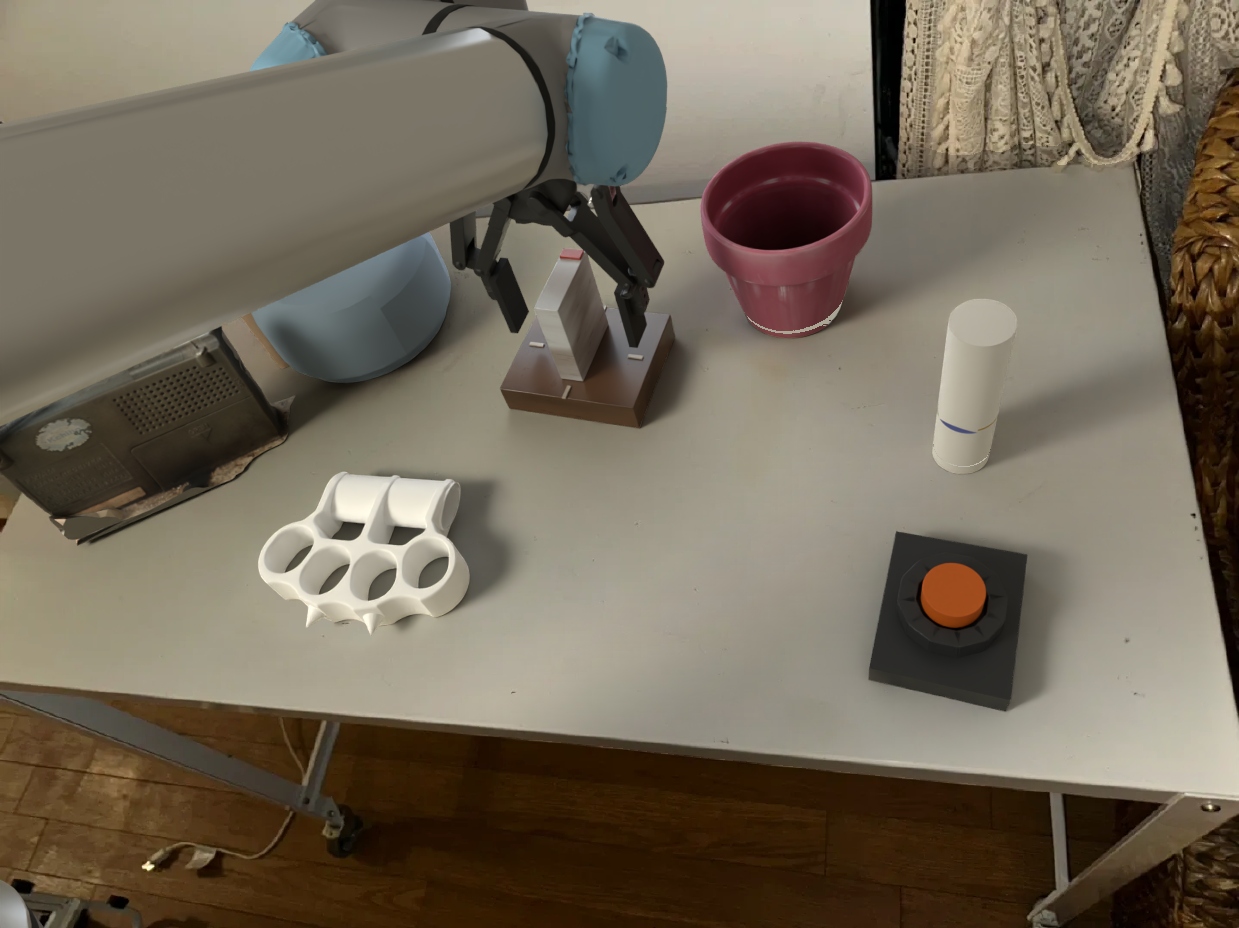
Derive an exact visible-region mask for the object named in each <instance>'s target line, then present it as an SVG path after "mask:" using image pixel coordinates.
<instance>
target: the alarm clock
mask: <svg viewBox="0 0 1239 928" xmlns="http://www.w3.org/2000/svg"><path fill="white" fill-rule="evenodd" d="M447 267H448V266H447V265H446V263H445V261H444V259H443V257H442V254H441V253H440V251H439V249H438V246H437V244H436V242H435V240H434V238H433V236H432V234H431V233H430V232H428V233H426V234H423V235H421V236H419V237H417V238H415V239H412V240H410V241H408V242H406V243H404V244H401V245H399V246H397V247H395V248H393V249H390V250H388V251H386V252H384V253H381V254H379V255H377V256H375V257H373V258H370V259H368V260H366V261H364V262H362V263H359V264H357V265H355V266H353V267H351V268H348V269H346V270H344V271H342V272H340V273H337V274H335V275H333V276H331V277H329V278H326V279H324V280H322V281H320V282H318V283H315V284H313V285H311V286H309V287H306V288H304V289H302V290H300V291H298V292H295V293H293V294H291V295H289V296H287V297H284V298H282V299H280V300H278V301H276V302H273V303H271V304H269V305H267V306H265V307H262V308H260V309H258V310H256V311H254V312H251V313H249V314H247V315H245V316H243V317H241V319H242V321H243V322H244V323H245V324H246V326H247V327H248V329H250V331H251V332H252V333H253V335H254V336H255V337H256V339H257V340H258V341H259V343H260V344H261V345H262V347H263V348H264V349H265V351H266V352H267V353H268V354H269V355H270V357H271V358H272V360H273V361H274V362H275V364H276V365H277V366H278V368H279V369H285V368H289V367H290V368H291V369H293V370H294V371H296V372H297V373H300V374H302V375H305V376H307V377H311V378H314V379H318V380H319V379H320V380H322V381H325V382H328V383H339V384H350V383H357V382H363V381H369V380H372V379H374V378H378V377H381V376H383V375H384V376H385V375H387V374H389V373H391V372H393V371H395V370H397V369H398V368H400V367H402V366H403V365H406V364H407V363H409V362H410V361H412V360H413V359H414V358H415V357H416V356H417V355H419V354H420V353H421V352H423V350H425V349H426V348H428V347H427V346H428V345H429V344H430V343H431V342H432V341H433V339H434V338H435V337H436V335H437V334H438V333H439V331H440V329H441V327H442V324H443V323H444V320H445V317H446V316H447V309H448V306H449V305H450V299H451V298H450V297H451V293H452V292H451V290H452V282H451V278H450V273H449V270H448V268H447Z"/></svg>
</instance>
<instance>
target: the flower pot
mask: <svg viewBox="0 0 1239 928" xmlns="http://www.w3.org/2000/svg"><path fill="white" fill-rule="evenodd" d="M699 207H700V220H701V228H702V235H703V241H704V244H705V248H706V251H707V253H708V255H709V257H710V258H711V260H712V261H713V263H714V264H715V265H716V266H717V267H718V268H719V269H720V270H722V272H724V273H725V275H726V278H727V280H728V282H729V284H730V286H731V289H732V291H733V293H734V295H735V297H736V299H737V301H738V303H739V305H740V307H741V309H742V311H743V313H744V312H745V313H744V315H745V314H746V315H747V316H748V317H749V318H750V319H751V320H752V321H754V322H755V323H757V324H759V325H760V326H763V327H765V328H768V329H772V330H776V331H793V330H794V331H795V330H800V329H804V328H806V327H810V326H813V325H815V324H817V323H819V322H821V321H823V320H825V319H826V318H828V316H830V315H831V314H832V313H833V312H834V311H835V310H836V309H837V308H838V307H839V305H840V304H841V302H842V300H843V301H844V299H845V296H846V291H847V288H848V285H849V282H850V278H851V275H852V270H853V268H854V264H855V261H856V257H857V256H858V254H859V253H860V252H861V251H862V249H864V246H865V245H866V244H867V242H868V240H869V237H870V235H871V231H872V225H873V184H872V179H871V176H870V174H869V171H868V170H867V168H866V167H865V166H864V165H863V163H862V162H861V161H860V160H859V159H857V158H856V157H855V156H854V155H852V154H851V153H849V152H848V151H846V150H844V149H842V148H839V147H837V146H833V145H830V144H826V143H821V142H815V141H787V142H786V141H785V142H778V143H772V144H768V145H765V146H760V147H758V148H755V149H753V150H750V151H747V152H745V153H743V154H741V155H739V156H737V157H736V158H734V159H733V160H730V161H729V162H728V163H727V164H725V165H724V166H723V167H722V168H720V169H719V170H718V171H717V172H716V173H715V174H714V175H713V177H712V178H711V179H710V181H708V183H707V185H706V187H705V189H704V190H703V193H702V196H701V199H700V206H699ZM844 295H845V296H844ZM843 298H844V299H843ZM746 315H745V317H746V319H747V321H748V322H749V324H751V326H753V327H754V328H755V329H756V330H758V331H759V332H761V333H763V334H765V335H768V336H771V337H774V338H775V337H776V338H780V339H798V338H804V337H807V336H810V335H813V334H816V333H819V332H820V331H822V330H824V329H825V328H827V327H828V326H829V325H828V324H823V325H827V326H826V327H825V326H823V325H822V326H819V327H817V328H815V329H812V330H809V331H805V332H800V333H792V334H783V333H775V332H771V331H768V330H765V329H762V328H760V327H758V326H757V325H755V324H754V323H753V322H751V321H750V320H749V319H748V317H747V316H746ZM829 321H831V320H829ZM832 322H834V320H832Z"/></svg>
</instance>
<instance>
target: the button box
mask: <svg viewBox="0 0 1239 928" xmlns="http://www.w3.org/2000/svg"><path fill="white" fill-rule="evenodd" d="M892 545H893V546H892V551H891V555H890V560H889V565H888V570H887V575H886V579H885V586H884V590H883V595H882V601H881V605H880V610H879V615H878V621H877V626H876V631H875V636H874V640H873V645H872V651H871V656H870V660H869V667H868V679H867V680H868V681H872V682H875V683H880V684H885V685H889V686H893V687H898V688H902V689H906V690H911V691H915V692H920V693H922V694H928V695H932V696H937V697H940V698H945V699H950V700H953V701H958V702H962V703H967V704H970V705H974V706H975V705H976V706H979V707H983V708H987V709H992V710H997V711H1000V712H1005V713H1006V712H1007V710H1008V708H1009V706H1010V703H1011V701H1012V695H1013V684H1014V675H1015V668H1016V659H1017V649H1018V641H1019V635H1020V634H1019V633H1020V623H1021V615H1022V607H1023V597H1024V588H1025V582H1026V581H1025V579H1026V571H1027V562H1028V554H1027V553H1022V552H1017V551H1011V550H1005V549H1000V548H995V547H988V546H982V545H977V544H971V543H966V542H960V541H954V540H948V539H943V538H938V537H931V536H926V535H922V534H921V535H919V534H916V533H915V534H914V533H909V532H904V531H898V530H897V531H895V536H894V541H893V544H892ZM945 563H958V564H962V565H965V566H967V567H969V568H971V569H973V570H974V571H975V572H976V573H977V574H978V575H979V576H980V577H981V578H982V580H983V582H984V584H985V588H986V598H985V602H984V605H983V609H982V612H981V614H980V616H979V617H978V618H977V619H976V620H975V621H974V622H973V623H971V624H969V625H967V626H964V627H958V628H951V627H946V626H942V625H940V624H938V623H936V622H935V621H933V620H932V619H931V618H929V616H928V615H927V614H926V613H925V611H924V609H923V607H922V604H921V592H922V585H923V580H924V578H925V576H926V575H927V573H928V572H929V571H930V570H931V569H933V568H934V567H936V566H938V565H941V564H945Z"/></svg>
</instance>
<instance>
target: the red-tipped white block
mask: <svg viewBox="0 0 1239 928" xmlns="http://www.w3.org/2000/svg"><path fill="white" fill-rule="evenodd" d="M558 256H559V257H558V259H557V260H556V263H555V265H554V267H553V268H552V270H551V273H550V275H549V276H548V279H547V281H546V283H545V284H544V286H543V289H542V291H541V292H540V294H539V296H538V299H537V301H536V303H535V304H534V307H533V310H534V313H535V316H536V315H537V318H538V321H539V323H540V326H541V328H542V331H543V333H544V336H545V338H546V341H547V344H548V346H549V349H550V351H551V354H552V356H553V359H554V361H555V364H556V367H557V369H558V372H559V374H560V377H561V378H562V379H569V380H576V381H584V378H585V376H586V374H587V372H588V369H589V367H590V365H591V362H592V360H593V358H594V356H595V353H596V351H597V349H598V347H599V344H600V342H601V340H602V337H603V335H604V333H605V331H606V328H607V326H608V320H607V317H606V314H605V310H604V307H603V305H604V304H603V302H602V301H603V300H602V298H601V294H600V290H599V287H598V284H597V281H596V277H595V273H594V271H593V268H592V264H591V261H590V257H589V255H588V254H587V253H586V252H585V251H584V250H583V249H577V248H564V247H563V248H562V250H561V252H560V253H559V255H558Z"/></svg>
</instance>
